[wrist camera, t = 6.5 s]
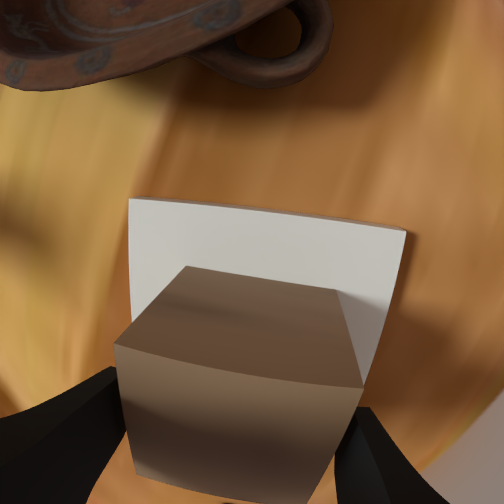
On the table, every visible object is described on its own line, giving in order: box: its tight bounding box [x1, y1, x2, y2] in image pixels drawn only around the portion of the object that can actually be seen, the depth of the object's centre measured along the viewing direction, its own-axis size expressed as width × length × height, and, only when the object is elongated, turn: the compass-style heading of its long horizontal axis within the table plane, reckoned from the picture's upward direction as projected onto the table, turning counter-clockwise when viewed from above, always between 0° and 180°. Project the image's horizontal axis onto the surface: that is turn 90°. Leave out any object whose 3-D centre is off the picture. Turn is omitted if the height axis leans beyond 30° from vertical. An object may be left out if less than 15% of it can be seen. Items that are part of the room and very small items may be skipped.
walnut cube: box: [113, 266, 364, 504], centre depth 11 cm, size 6×6×6 cm
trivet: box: [129, 196, 406, 385], centre depth 14 cm, size 11×11×1 cm
